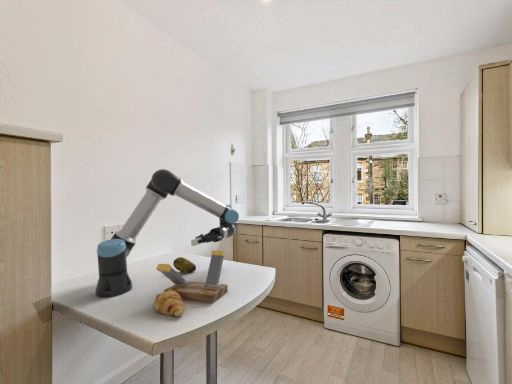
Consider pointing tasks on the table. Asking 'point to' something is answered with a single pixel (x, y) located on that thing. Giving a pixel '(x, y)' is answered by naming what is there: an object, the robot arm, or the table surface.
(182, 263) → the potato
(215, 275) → the lever
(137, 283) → the table surface
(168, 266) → the lever
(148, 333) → the table surface
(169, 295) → the croissant
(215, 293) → the wooden base board
